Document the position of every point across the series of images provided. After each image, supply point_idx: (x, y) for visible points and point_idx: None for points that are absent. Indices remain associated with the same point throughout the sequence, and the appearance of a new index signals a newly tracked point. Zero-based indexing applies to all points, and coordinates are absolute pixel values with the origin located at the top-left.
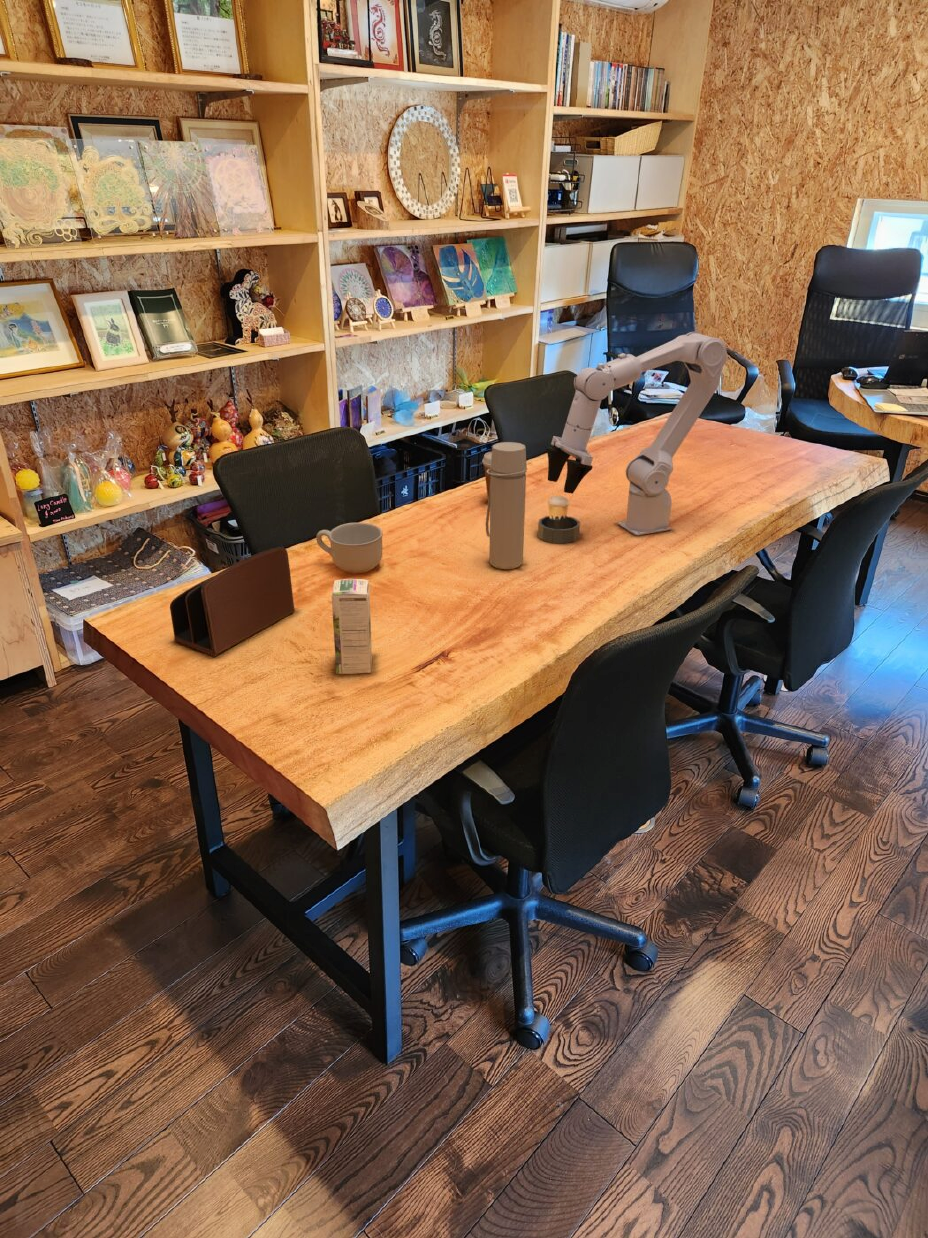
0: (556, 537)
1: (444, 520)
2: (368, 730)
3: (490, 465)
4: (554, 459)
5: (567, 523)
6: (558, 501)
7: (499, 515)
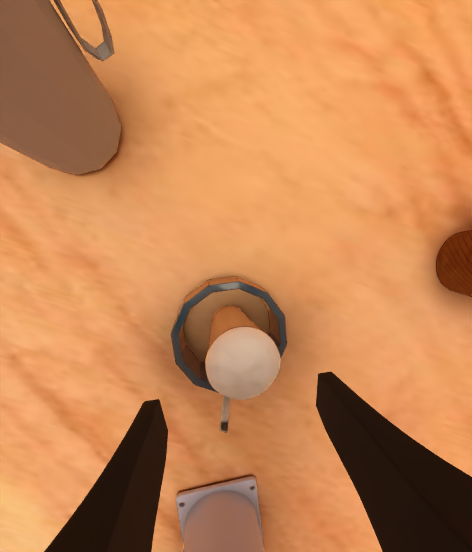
0: (180, 309)
1: (405, 79)
2: None
3: None
4: (405, 506)
5: None
6: (215, 359)
7: None
